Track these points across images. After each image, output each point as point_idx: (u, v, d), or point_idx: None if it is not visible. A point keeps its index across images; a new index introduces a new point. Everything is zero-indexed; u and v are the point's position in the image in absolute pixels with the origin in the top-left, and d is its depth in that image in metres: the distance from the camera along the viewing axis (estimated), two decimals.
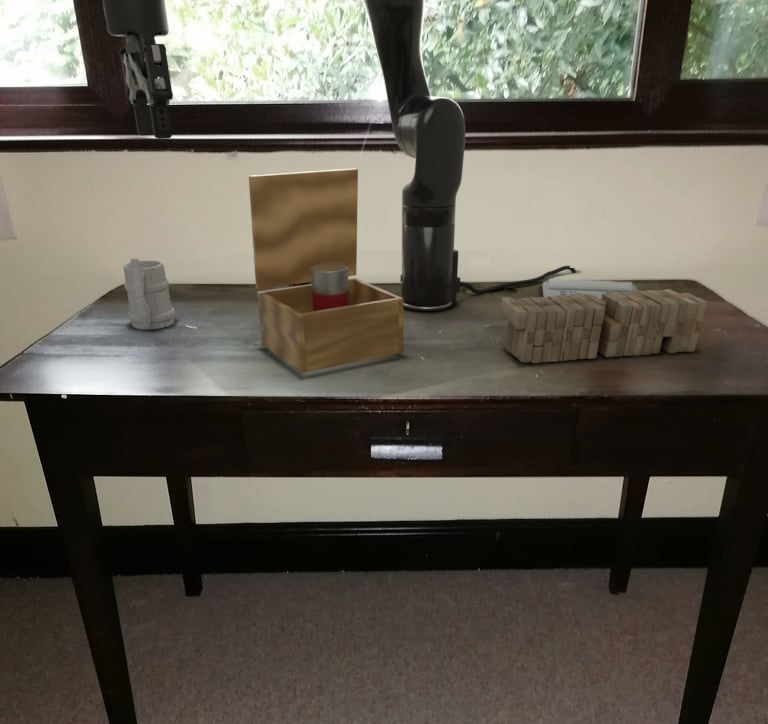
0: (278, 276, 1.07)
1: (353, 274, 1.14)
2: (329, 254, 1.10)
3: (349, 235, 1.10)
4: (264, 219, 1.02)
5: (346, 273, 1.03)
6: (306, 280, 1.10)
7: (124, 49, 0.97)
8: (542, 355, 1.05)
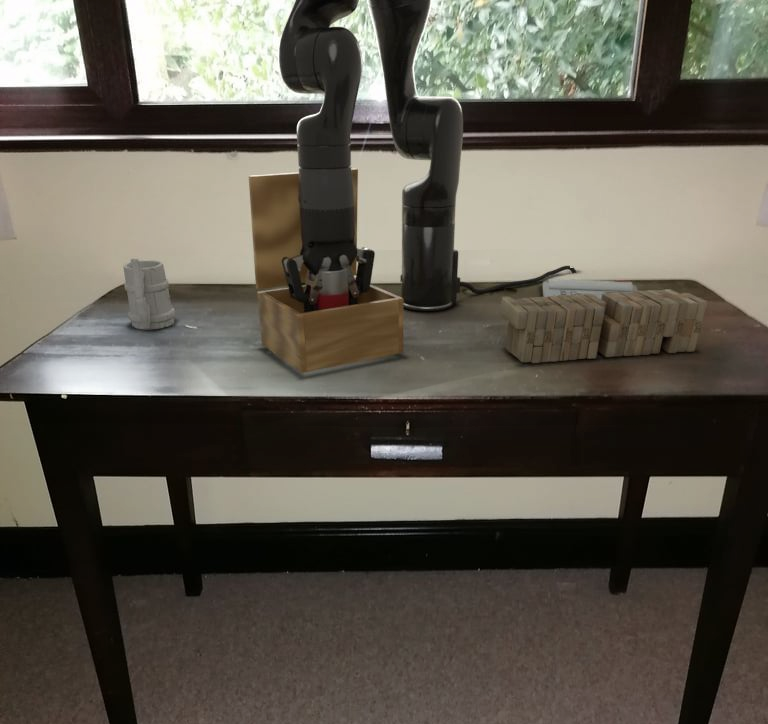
0: (278, 276, 1.07)
1: (353, 274, 1.14)
2: None
3: None
4: (264, 219, 1.02)
5: (346, 273, 1.03)
6: None
7: (362, 249, 1.05)
8: (542, 355, 1.05)
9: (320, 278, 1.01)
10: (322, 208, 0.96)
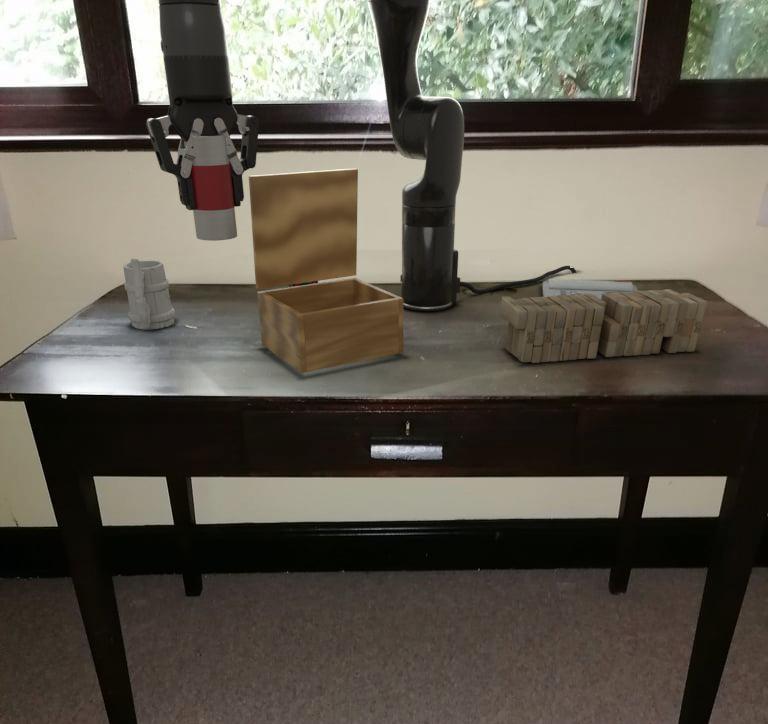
0: (278, 276, 1.07)
1: (353, 274, 1.14)
2: (329, 254, 1.10)
3: (349, 235, 1.10)
4: (264, 219, 1.02)
5: (224, 141, 0.89)
6: (306, 280, 1.10)
7: None
8: (542, 355, 1.05)
9: (192, 144, 0.88)
10: (185, 53, 0.82)
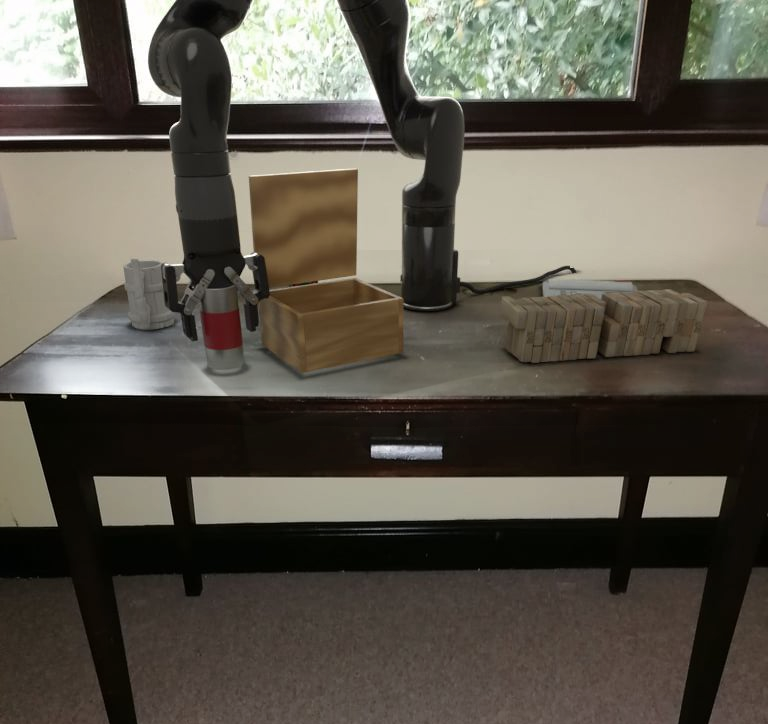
0: (278, 276, 1.07)
1: (353, 274, 1.14)
2: (329, 254, 1.10)
3: (349, 235, 1.10)
4: (264, 219, 1.02)
5: (233, 290, 0.98)
6: (306, 280, 1.10)
7: (252, 254, 1.00)
8: (542, 355, 1.05)
9: (204, 291, 0.96)
10: (199, 218, 0.91)
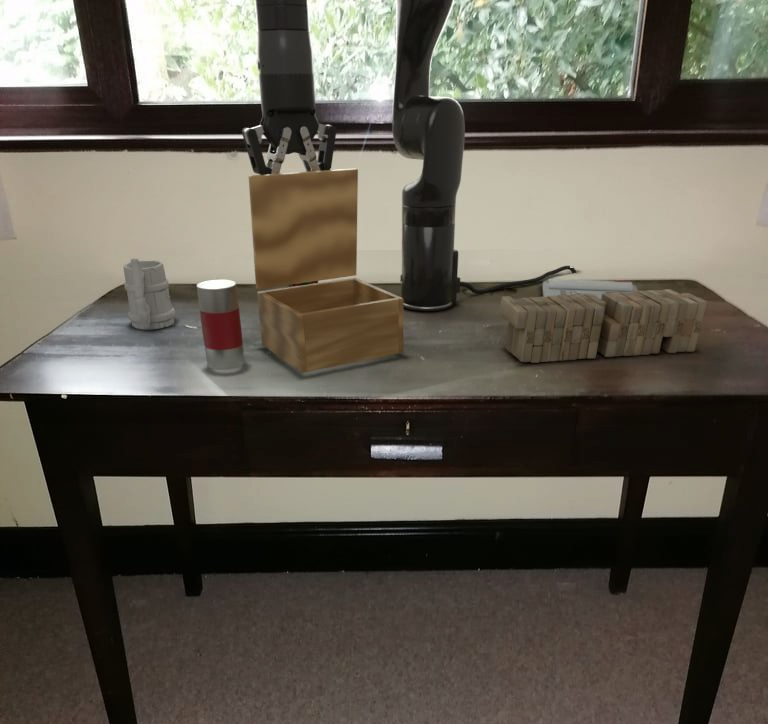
0: (278, 276, 1.07)
1: (353, 274, 1.14)
2: (329, 254, 1.10)
3: (349, 235, 1.10)
4: (264, 219, 1.02)
5: (233, 290, 0.98)
6: (306, 280, 1.10)
7: None
8: (542, 355, 1.05)
9: (281, 150, 1.01)
10: (280, 72, 0.96)
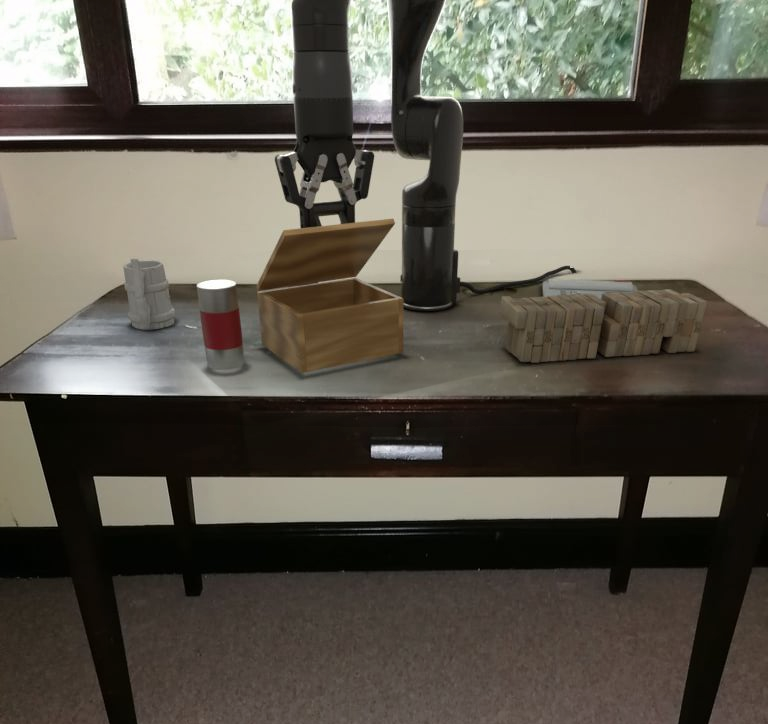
0: (281, 283, 1.07)
1: (353, 276, 1.14)
2: (337, 268, 1.09)
3: (363, 258, 1.08)
4: (285, 256, 0.99)
5: (233, 290, 0.98)
6: (306, 283, 1.10)
7: None
8: (542, 355, 1.05)
9: (316, 178, 0.94)
10: (318, 96, 0.89)
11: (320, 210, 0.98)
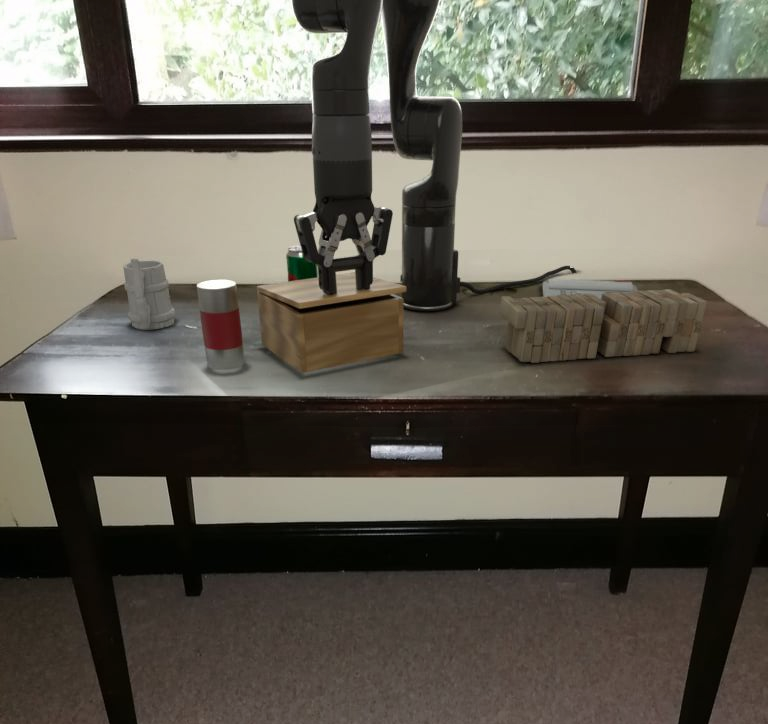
0: None
1: None
2: None
3: None
4: None
5: (233, 290, 0.98)
6: None
7: None
8: (542, 355, 1.05)
9: (335, 237, 0.94)
10: (338, 159, 0.89)
11: (339, 269, 0.98)
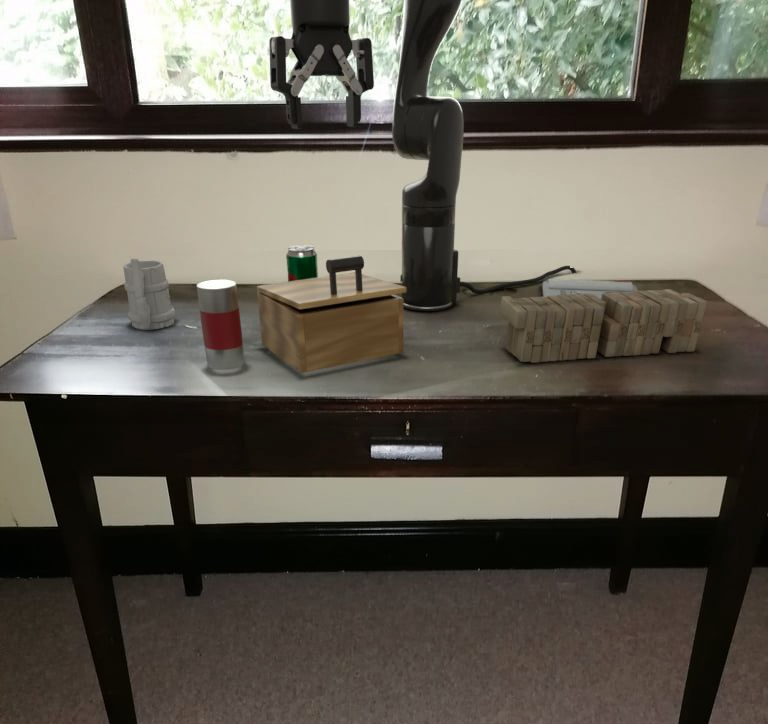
0: None
1: None
2: None
3: None
4: None
5: (233, 290, 0.98)
6: None
7: None
8: (542, 355, 1.05)
9: (312, 70, 0.94)
10: None
11: (339, 270, 0.98)
